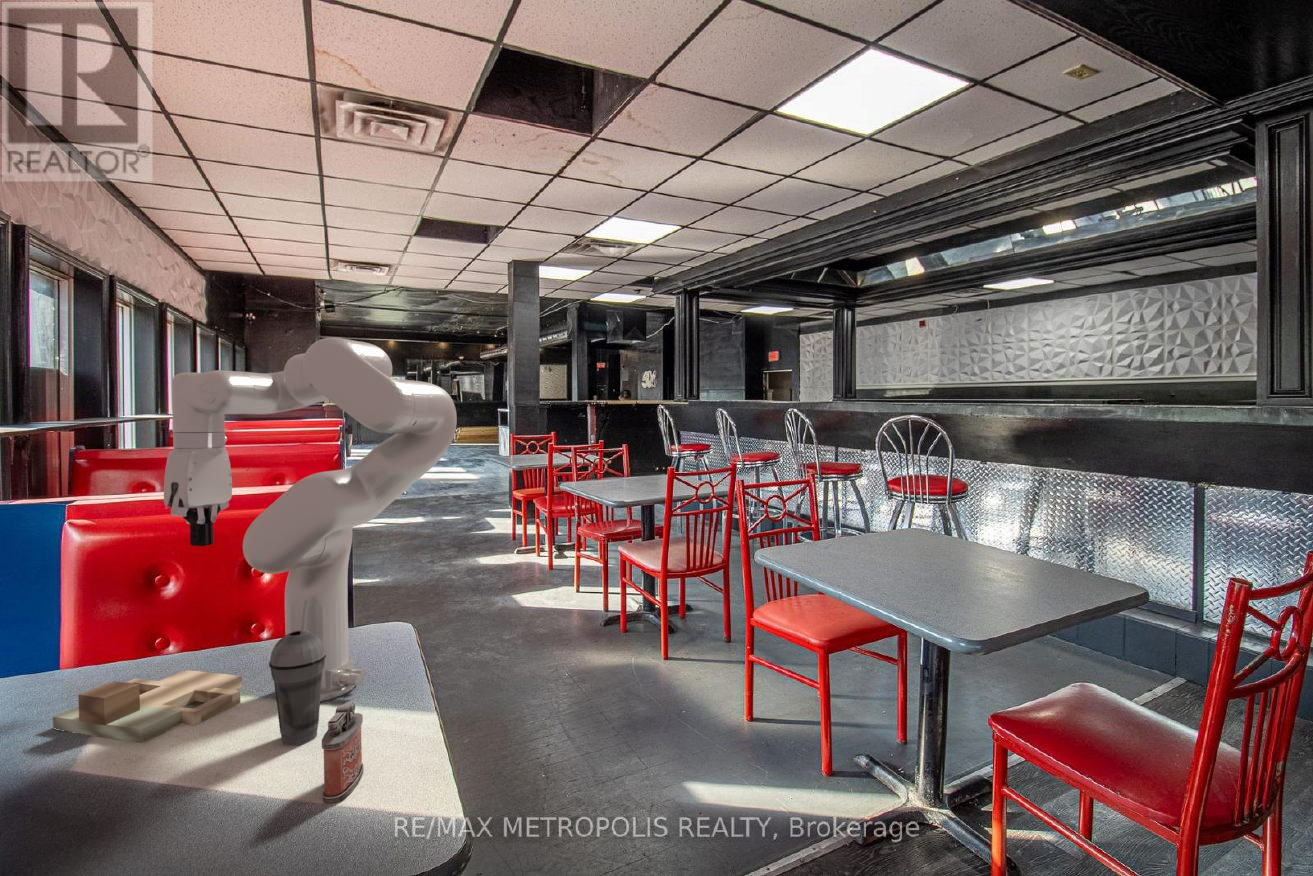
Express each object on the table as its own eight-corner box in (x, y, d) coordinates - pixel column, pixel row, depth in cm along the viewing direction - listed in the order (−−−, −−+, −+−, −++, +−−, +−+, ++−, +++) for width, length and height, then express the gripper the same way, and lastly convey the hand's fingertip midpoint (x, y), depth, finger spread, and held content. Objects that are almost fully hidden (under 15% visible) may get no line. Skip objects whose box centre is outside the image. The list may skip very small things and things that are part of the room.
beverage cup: (274, 731, 95) (271, 598, 95) (329, 722, 98) (326, 592, 98) (266, 755, 89) (263, 611, 88) (325, 744, 92) (322, 605, 91)
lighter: (342, 769, 85) (341, 694, 85) (369, 768, 85) (367, 693, 85) (316, 805, 77) (314, 723, 77) (345, 804, 77) (343, 722, 77)
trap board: (265, 690, 110) (265, 678, 110) (155, 745, 92) (155, 731, 92) (164, 678, 115) (164, 667, 115) (40, 728, 97) (40, 715, 97)
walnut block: (140, 710, 98) (139, 684, 98) (104, 725, 93) (104, 698, 93) (115, 706, 99) (114, 681, 99) (79, 721, 95) (78, 694, 95)
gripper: (217, 441, 122) (219, 536, 123) (141, 444, 107) (144, 553, 108) (251, 441, 121) (253, 538, 121) (179, 444, 106) (182, 554, 107)
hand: (201, 545), depth 115 cm, fingers closed
